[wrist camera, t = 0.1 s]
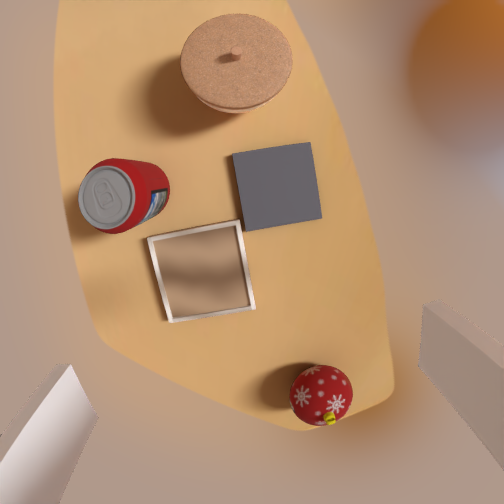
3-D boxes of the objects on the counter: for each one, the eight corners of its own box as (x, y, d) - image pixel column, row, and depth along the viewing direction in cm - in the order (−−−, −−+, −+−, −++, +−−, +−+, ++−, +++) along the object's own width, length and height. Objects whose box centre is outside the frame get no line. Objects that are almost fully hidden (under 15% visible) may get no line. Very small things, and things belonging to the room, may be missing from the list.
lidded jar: (233, 140, 34) (232, 128, 25) (172, 80, 32) (153, 53, 23) (300, 84, 33) (319, 57, 24) (239, 27, 31) (240, -12, 22)
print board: (150, 235, 37) (146, 238, 35) (239, 218, 37) (239, 220, 35) (171, 318, 39) (169, 322, 38) (255, 304, 39) (255, 309, 38)
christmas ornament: (342, 392, 44) (362, 435, 34) (288, 404, 44) (299, 451, 34) (342, 348, 42) (366, 389, 32) (282, 360, 41) (294, 406, 32)
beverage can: (132, 227, 36) (89, 250, 25) (110, 177, 35) (61, 180, 23) (180, 204, 36) (154, 217, 24) (158, 152, 34) (123, 143, 23)
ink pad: (232, 154, 35) (232, 153, 34) (308, 143, 35) (310, 142, 34) (245, 230, 37) (246, 231, 36) (319, 217, 37) (322, 218, 36)
